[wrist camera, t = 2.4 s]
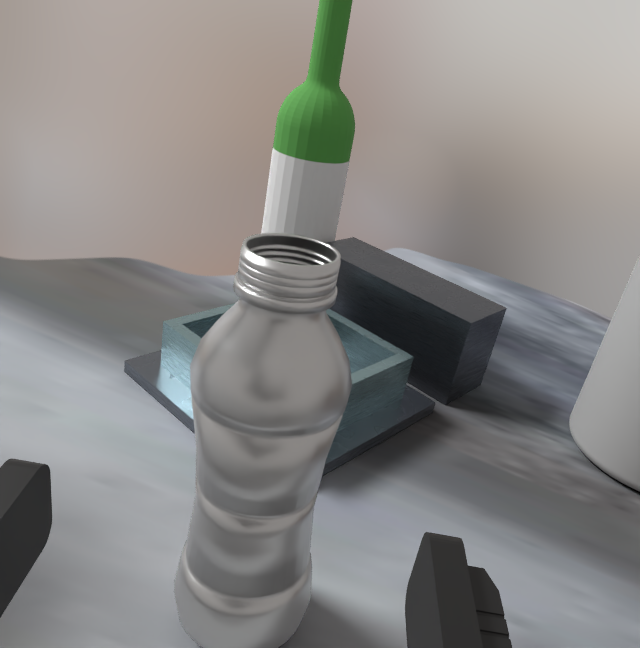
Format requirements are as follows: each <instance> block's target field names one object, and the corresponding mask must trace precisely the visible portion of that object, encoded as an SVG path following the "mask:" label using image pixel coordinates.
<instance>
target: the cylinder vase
mask: <svg viewBox="0 0 640 648" xmlns="http://www.w3.org/2000/svg"><path fill="white" fill-rule="evenodd" d="M569 427H570V432H571V435H572V437H573V439H574V441H575V443H576V444H577V446H578V447H579V448H580V450H581V451H582V452H583V453H584V454H585V456H586V457H587V458H588V459H589V460H591V461H592V462H593V463H594V464H595V465H596V466H597V467H599V468H600V469H601V470H603V471H604V472H605V473H607V474H608V475H610V476H611V477H613V478H615V479H616V480H618V481H620V482H621V483H623V484H625V485H627V486H629V487H631V488H633V489H635V490H637V491H640V255H639V258H638V260H637V262H636V264H635V267H634V269H633V272H632V274H631V276H630V278H629V281H628V283H627V286H626V288H625V290H624V292H623V295H622V297H621V299H620V302H619V304H618V306H617V308H616V311H615V313H614V315H613V318H612V320H611V322H610V325H609V327H608V329H607V332H606V334H605V336H604V339H603V341H602V343H601V346H600V348H599V350H598V353H597V355H596V357H595V359H594V362H593V364H592V366H591V369H590V371H589V373H588V376H587V378H586V380H585V383H584V385H583V387H582V390H581V392H580V394H579V397H578V399H577V401H576V403H575V406H574V408H573V410H572V413H571V415H570V420H569Z"/></svg>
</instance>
